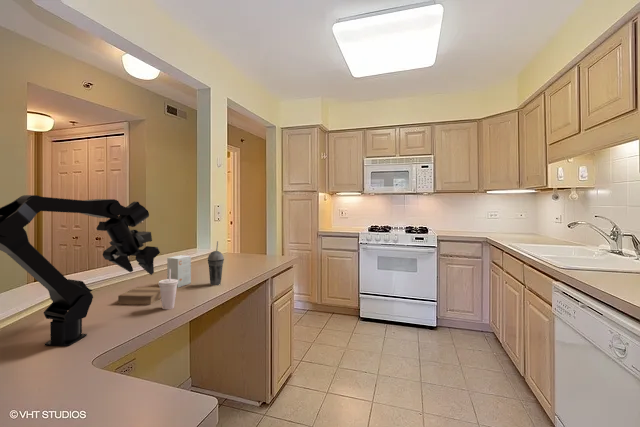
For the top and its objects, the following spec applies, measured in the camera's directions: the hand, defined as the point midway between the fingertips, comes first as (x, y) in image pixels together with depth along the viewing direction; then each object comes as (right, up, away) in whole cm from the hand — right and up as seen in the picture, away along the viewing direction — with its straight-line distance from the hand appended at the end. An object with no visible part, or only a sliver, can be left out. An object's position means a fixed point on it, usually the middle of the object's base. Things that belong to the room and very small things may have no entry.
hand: (141, 272), depth 103 cm
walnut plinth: (-8, -13, +14) cm, 21 cm away
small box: (-4, -13, +35) cm, 38 cm away
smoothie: (+6, -14, +5) cm, 16 cm away
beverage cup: (+12, -13, +37) cm, 41 cm away
